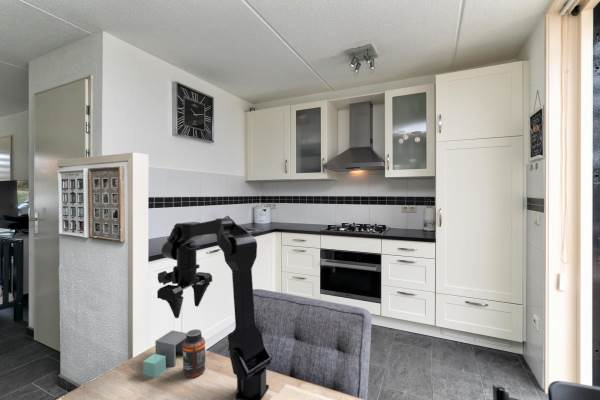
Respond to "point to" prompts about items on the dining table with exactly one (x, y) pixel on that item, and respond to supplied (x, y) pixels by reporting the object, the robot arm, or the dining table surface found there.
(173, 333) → the grey arch block
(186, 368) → the supplement bottle
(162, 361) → the cube
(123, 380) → the dining table surface
